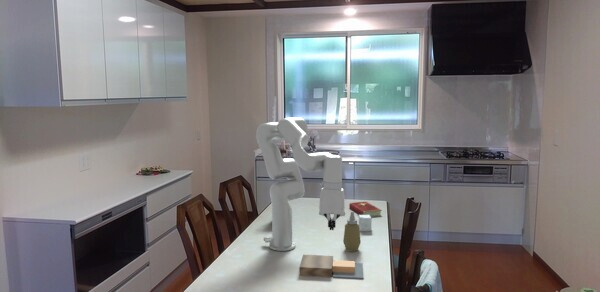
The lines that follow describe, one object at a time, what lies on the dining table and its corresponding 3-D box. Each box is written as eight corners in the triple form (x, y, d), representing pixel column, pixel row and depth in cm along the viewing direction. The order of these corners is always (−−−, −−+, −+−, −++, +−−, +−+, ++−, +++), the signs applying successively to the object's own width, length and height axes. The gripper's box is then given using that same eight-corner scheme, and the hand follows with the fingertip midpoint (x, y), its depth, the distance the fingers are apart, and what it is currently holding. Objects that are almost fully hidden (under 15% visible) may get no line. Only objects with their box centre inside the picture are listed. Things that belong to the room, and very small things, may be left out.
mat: (332, 277, 163) (332, 276, 163) (334, 263, 177) (334, 262, 177) (363, 279, 161) (363, 277, 161) (362, 264, 175) (362, 263, 175)
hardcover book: (363, 218, 243) (363, 211, 242) (349, 208, 263) (349, 202, 262) (381, 216, 246) (381, 209, 246) (366, 207, 266) (366, 201, 266)
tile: (332, 271, 167) (332, 266, 166) (332, 265, 173) (332, 260, 172) (354, 272, 166) (354, 267, 165) (354, 266, 172) (354, 261, 171)
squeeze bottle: (347, 253, 188) (347, 215, 185) (340, 247, 195) (340, 210, 193) (363, 251, 190) (363, 213, 187) (356, 245, 197) (356, 209, 195)
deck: (299, 275, 165) (299, 267, 165) (303, 262, 178) (303, 254, 177) (331, 277, 163) (331, 268, 163) (333, 263, 176) (333, 255, 176)
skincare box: (369, 227, 224) (369, 214, 223) (371, 231, 218) (371, 217, 217) (358, 227, 224) (358, 214, 223) (360, 231, 218) (360, 217, 217)
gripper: (313, 186, 164) (312, 231, 166) (350, 188, 162) (349, 233, 164) (314, 182, 171) (314, 225, 173) (351, 184, 169) (350, 226, 172)
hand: (331, 228), depth 169 cm, fingers closed
